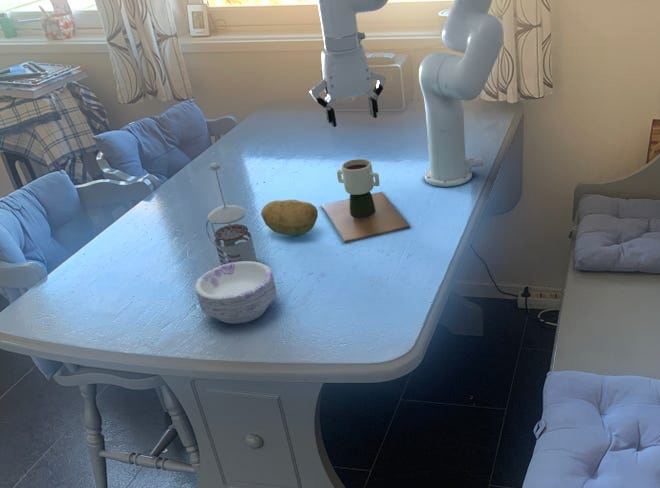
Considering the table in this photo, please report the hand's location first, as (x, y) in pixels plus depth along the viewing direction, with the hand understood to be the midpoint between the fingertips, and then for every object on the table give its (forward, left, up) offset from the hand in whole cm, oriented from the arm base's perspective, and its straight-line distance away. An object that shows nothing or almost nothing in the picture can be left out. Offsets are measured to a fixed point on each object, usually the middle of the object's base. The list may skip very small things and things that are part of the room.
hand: (353, 120), depth 173 cm
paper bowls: (+36, +31, -24) cm, 53 cm away
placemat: (+1, +1, -23) cm, 23 cm away
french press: (+34, +13, -24) cm, 43 cm away
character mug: (+1, +1, -23) cm, 23 cm away
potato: (+19, +1, -24) cm, 30 cm away
